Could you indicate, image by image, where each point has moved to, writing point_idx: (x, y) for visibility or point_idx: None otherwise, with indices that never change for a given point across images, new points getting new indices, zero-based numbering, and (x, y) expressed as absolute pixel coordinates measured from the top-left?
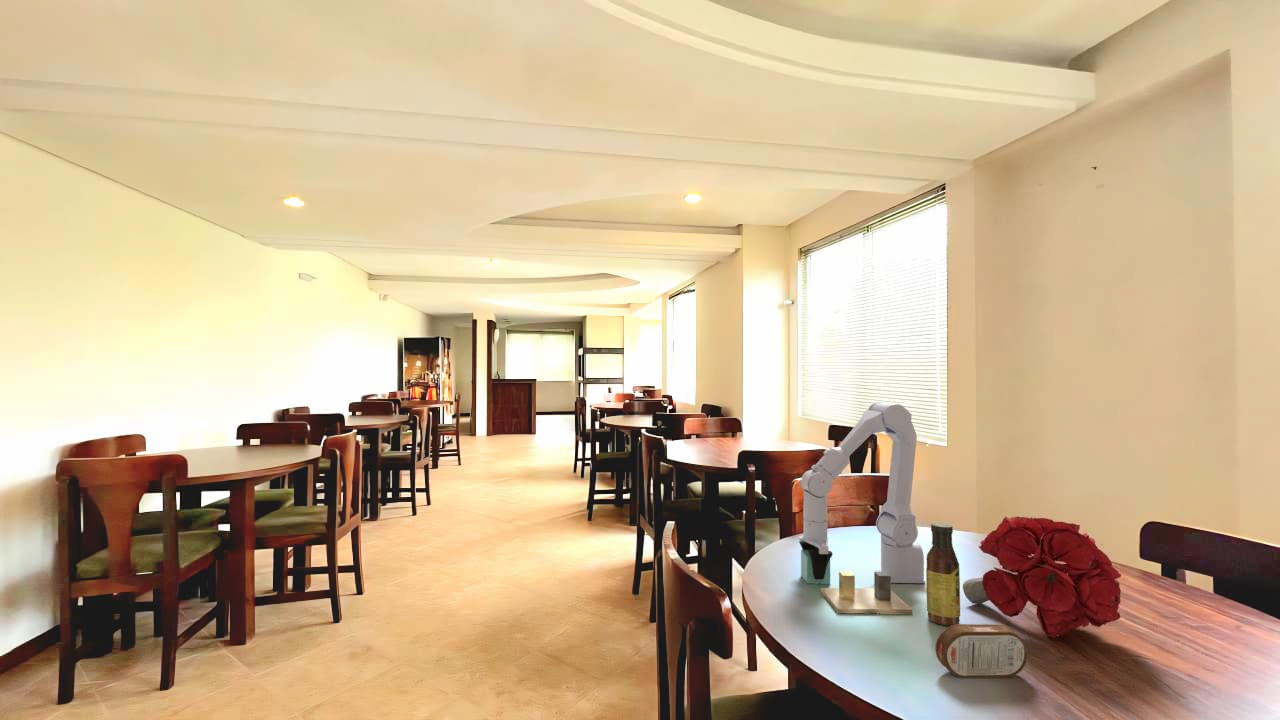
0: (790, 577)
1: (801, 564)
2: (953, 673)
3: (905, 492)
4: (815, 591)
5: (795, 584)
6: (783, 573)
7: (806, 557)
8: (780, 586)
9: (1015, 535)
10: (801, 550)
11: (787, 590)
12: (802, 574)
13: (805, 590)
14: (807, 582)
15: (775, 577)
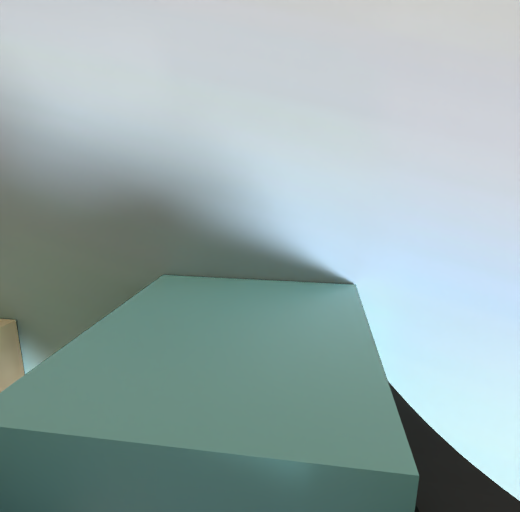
0: (326, 177)
1: (345, 330)
2: None
3: None
4: (29, 288)
5: (153, 176)
6: (447, 134)
7: (15, 410)
8: (92, 20)
9: None
10: (375, 470)
11: (11, 67)
12: (305, 292)
13: (36, 221)
14: (159, 282)
15: (330, 16)
